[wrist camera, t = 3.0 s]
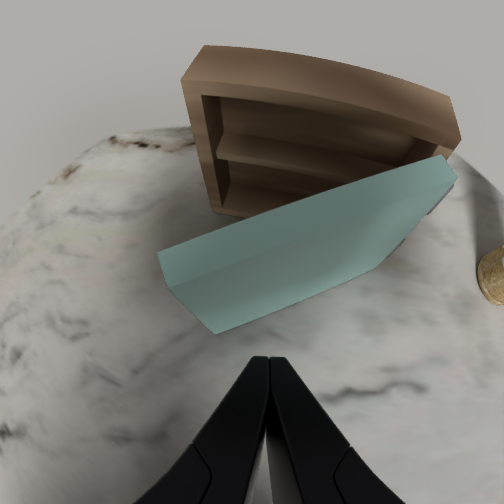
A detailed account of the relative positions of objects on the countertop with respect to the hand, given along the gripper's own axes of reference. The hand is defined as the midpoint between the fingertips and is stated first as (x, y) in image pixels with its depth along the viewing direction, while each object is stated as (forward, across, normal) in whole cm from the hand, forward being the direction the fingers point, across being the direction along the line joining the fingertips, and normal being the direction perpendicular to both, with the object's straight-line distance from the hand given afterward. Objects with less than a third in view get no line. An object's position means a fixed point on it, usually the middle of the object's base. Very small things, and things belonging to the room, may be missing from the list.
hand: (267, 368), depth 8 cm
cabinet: (+16, -2, 0) cm, 16 cm away
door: (+12, -3, +4) cm, 12 cm away
